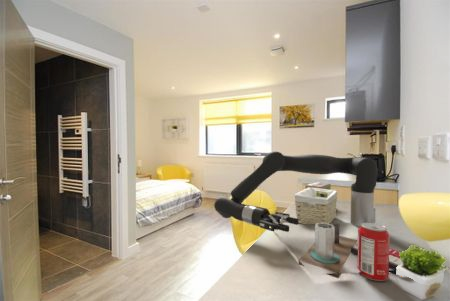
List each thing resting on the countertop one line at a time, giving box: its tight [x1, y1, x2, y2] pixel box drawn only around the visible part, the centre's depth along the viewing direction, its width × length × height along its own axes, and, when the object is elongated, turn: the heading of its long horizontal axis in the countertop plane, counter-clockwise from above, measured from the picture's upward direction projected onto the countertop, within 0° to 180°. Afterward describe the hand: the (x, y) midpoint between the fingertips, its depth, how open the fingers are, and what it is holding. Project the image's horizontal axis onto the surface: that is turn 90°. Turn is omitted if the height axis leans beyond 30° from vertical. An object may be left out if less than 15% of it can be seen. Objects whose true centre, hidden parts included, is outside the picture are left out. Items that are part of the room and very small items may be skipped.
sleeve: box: [314, 223, 335, 260], centre depth 76 cm, size 6×6×10 cm
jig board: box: [298, 222, 358, 279], centre depth 81 cm, size 30×12×8 cm, turn 140°
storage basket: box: [294, 188, 338, 225], centre depth 117 cm, size 24×16×15 cm
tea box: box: [304, 181, 332, 198], centre depth 141 cm, size 15×10×15 cm
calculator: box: [350, 243, 402, 276], centre depth 76 cm, size 11×4×15 cm
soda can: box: [357, 222, 391, 282], centre depth 67 cm, size 8×8×15 cm
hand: (293, 225), depth 82 cm, fingers open, 8 cm apart
